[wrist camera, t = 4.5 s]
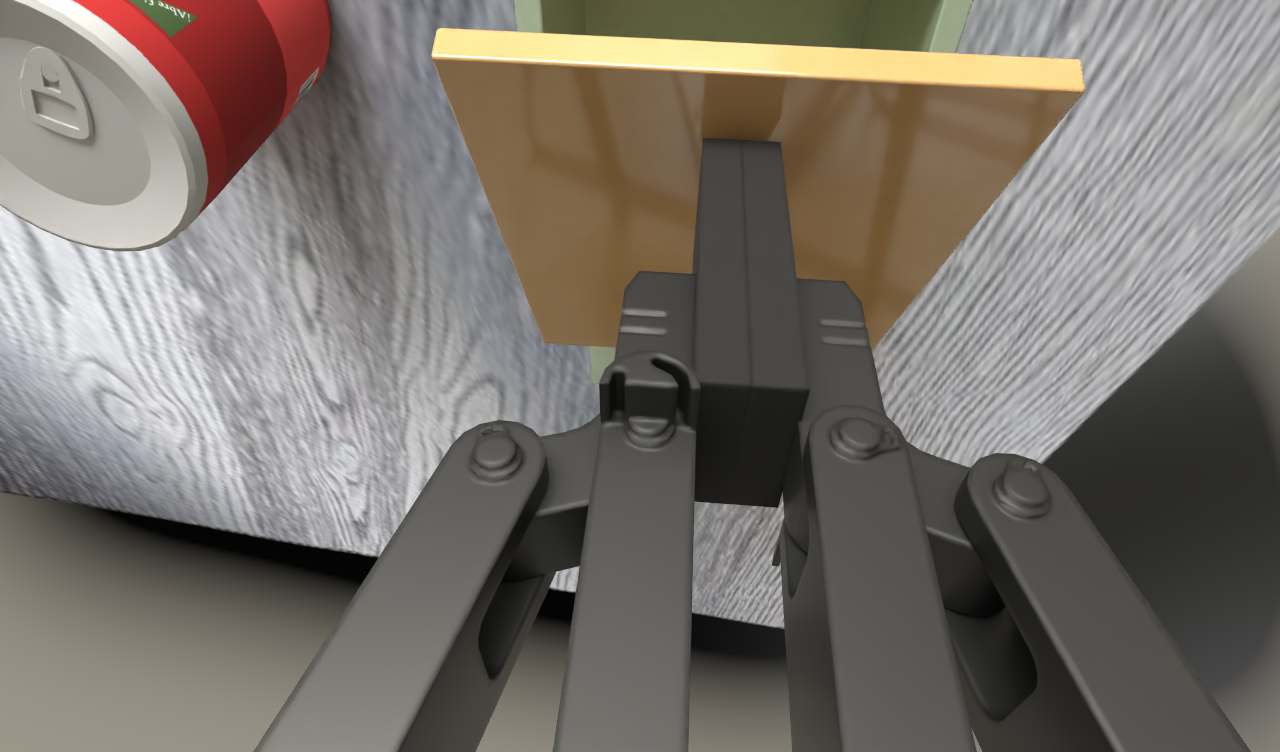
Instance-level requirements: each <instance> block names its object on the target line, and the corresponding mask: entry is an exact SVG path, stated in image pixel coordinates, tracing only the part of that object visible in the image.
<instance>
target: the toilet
mask: <svg viewBox="0 0 1280 752" xmlns="http://www.w3.org/2000/svg"><path fill="white" fill-rule="evenodd" d="M972 2H973V0H514V3H515V13H516V23H517V32H530V33H551V34H571V35H591V36H612V37H632V38H652V39H672V40H693V41H713V42H733V43H753V44H774V45H794V46H814V47H834V48H855V49H875V50H895V51H915V52H936V53H956V51H957V48H958V45H959V42H960V39H961V36H962V33H963V30H964V27H965V24H966V21H967V18H968V15H969V12H970V8H971V5H972Z"/></svg>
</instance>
